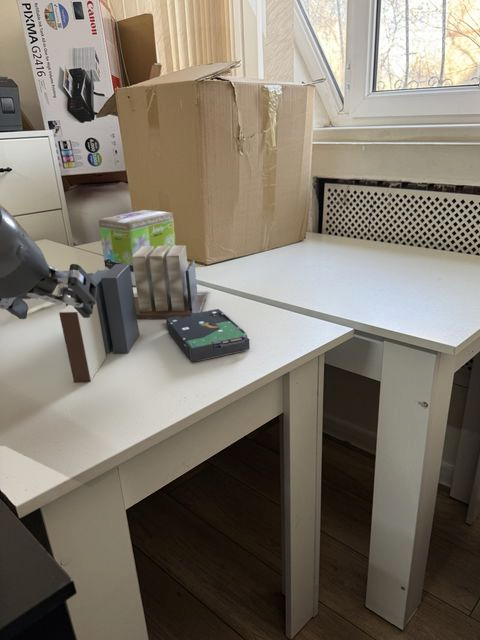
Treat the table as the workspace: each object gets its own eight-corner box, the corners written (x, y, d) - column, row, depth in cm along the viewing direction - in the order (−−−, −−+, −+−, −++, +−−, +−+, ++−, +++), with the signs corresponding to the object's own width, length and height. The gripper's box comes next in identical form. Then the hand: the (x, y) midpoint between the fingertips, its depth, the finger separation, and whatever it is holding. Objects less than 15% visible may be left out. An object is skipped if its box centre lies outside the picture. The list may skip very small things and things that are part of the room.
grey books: (128, 353, 84) (116, 277, 79) (75, 354, 84) (60, 278, 79) (139, 334, 91) (129, 263, 86) (91, 335, 92) (78, 264, 86)
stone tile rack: (85, 320, 98) (74, 260, 93) (102, 301, 108) (93, 245, 103) (198, 318, 97) (193, 257, 92) (205, 299, 107) (201, 243, 102)
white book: (90, 381, 75) (76, 312, 71) (73, 382, 75) (59, 312, 71) (106, 357, 83) (95, 293, 78) (91, 357, 83) (79, 293, 78)
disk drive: (166, 332, 92) (191, 363, 80) (164, 318, 91) (190, 347, 79) (219, 321, 96) (251, 350, 84) (218, 307, 95) (250, 334, 82)
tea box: (136, 287, 116) (127, 222, 110) (106, 281, 121) (95, 218, 115) (179, 270, 128) (173, 210, 121) (150, 265, 133) (142, 208, 126)
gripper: (63, 214, 53) (112, 285, 68) (-70, 218, 53) (8, 287, 69) (53, 278, 51) (106, 337, 66) (-86, 281, 51) (-2, 339, 66)
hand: (56, 312), depth 67 cm, fingers open, 8 cm apart
